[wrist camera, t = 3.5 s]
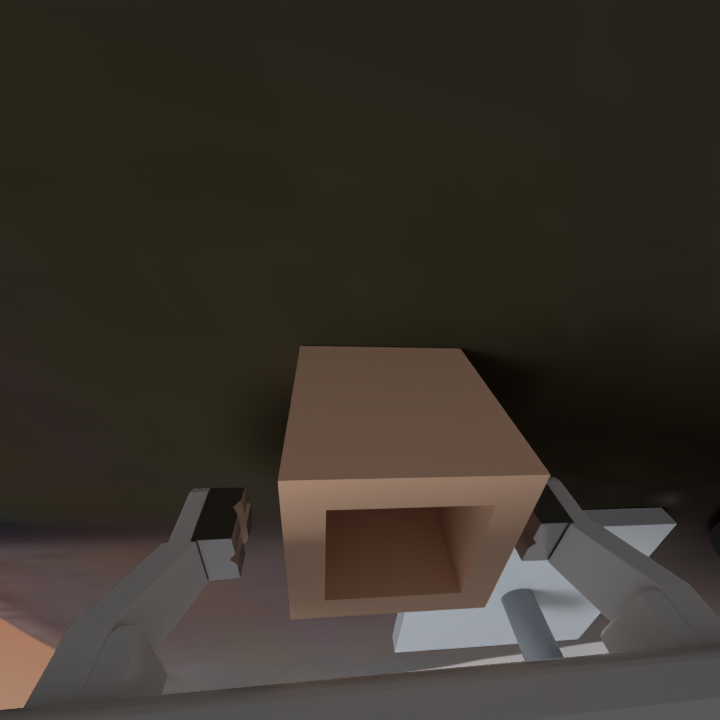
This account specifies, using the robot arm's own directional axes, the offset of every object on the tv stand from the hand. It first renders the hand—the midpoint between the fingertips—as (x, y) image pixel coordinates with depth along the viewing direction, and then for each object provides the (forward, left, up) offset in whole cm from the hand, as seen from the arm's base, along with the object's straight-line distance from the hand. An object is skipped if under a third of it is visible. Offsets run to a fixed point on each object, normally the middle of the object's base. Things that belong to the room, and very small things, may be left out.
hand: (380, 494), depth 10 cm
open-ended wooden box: (0, 0, -4) cm, 4 cm away
